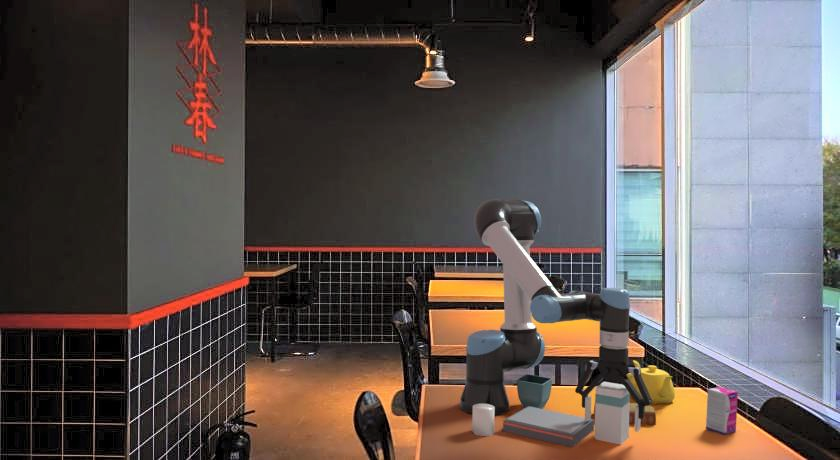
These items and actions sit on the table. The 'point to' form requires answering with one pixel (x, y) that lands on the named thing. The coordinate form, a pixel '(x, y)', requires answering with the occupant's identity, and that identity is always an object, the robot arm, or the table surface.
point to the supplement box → (721, 410)
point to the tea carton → (612, 412)
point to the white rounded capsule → (483, 419)
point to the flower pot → (534, 390)
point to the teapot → (655, 384)
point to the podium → (549, 426)
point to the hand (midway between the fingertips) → (612, 425)
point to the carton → (648, 418)
